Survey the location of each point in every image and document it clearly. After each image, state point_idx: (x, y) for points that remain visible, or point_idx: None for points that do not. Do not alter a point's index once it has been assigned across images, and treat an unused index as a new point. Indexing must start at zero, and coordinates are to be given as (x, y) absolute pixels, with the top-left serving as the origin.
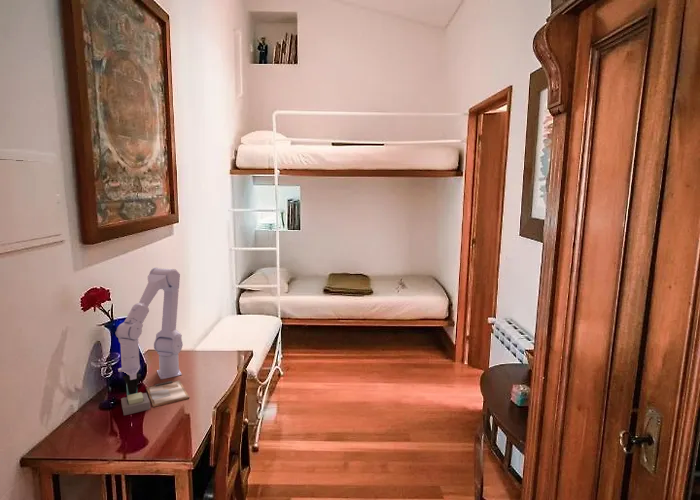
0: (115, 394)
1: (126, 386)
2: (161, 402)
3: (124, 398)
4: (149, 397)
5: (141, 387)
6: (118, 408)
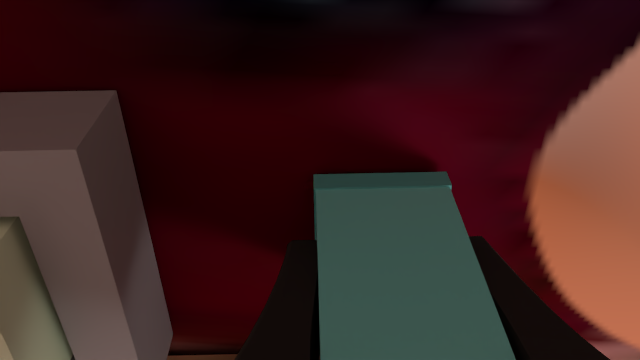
0: (601, 31)
1: (474, 263)
2: None
3: (51, 192)
4: (208, 357)
5: (564, 312)
6: (47, 41)
